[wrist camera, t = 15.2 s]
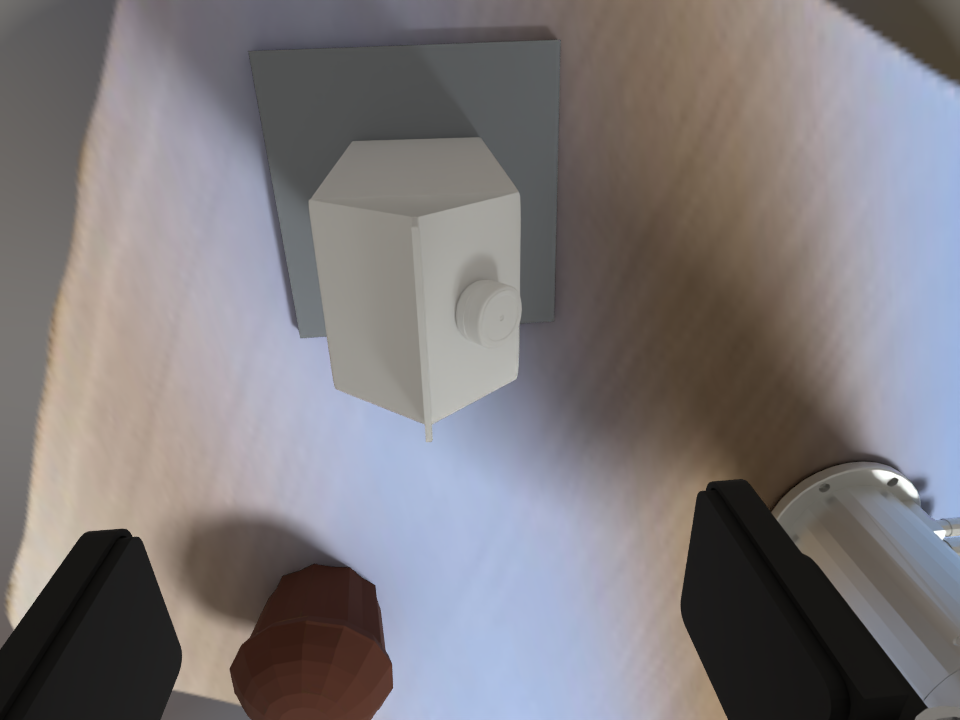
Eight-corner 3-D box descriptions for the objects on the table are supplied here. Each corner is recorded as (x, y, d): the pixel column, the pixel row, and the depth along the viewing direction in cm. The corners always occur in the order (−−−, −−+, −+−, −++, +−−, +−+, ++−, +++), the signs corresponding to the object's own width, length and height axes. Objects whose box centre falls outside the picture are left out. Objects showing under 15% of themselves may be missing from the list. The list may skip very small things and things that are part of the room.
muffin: (224, 580, 48) (179, 702, 39) (352, 530, 47) (336, 643, 38) (302, 670, 53) (278, 795, 44) (419, 627, 52) (419, 746, 43)
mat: (557, 40, 33) (560, 39, 32) (551, 316, 40) (554, 321, 39) (252, 51, 32) (248, 51, 31) (302, 333, 39) (300, 338, 38)
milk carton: (364, 265, 37) (318, 449, 20) (351, 140, 34) (282, 231, 17) (483, 260, 37) (537, 435, 20) (481, 136, 34) (543, 221, 17)
